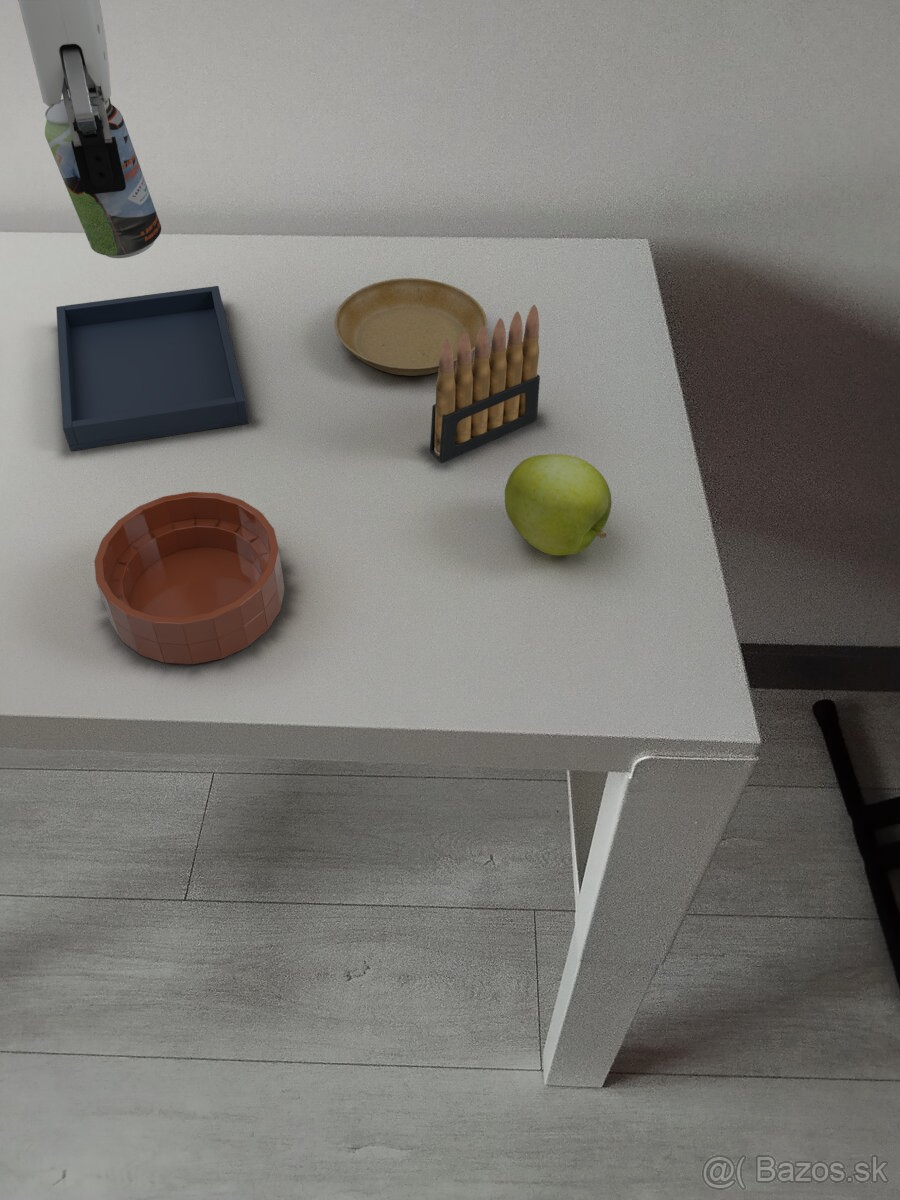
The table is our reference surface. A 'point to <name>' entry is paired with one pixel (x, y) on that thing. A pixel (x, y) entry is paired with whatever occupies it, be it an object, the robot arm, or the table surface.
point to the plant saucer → (407, 324)
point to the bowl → (190, 577)
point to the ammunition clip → (486, 388)
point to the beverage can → (109, 217)
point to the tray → (147, 368)
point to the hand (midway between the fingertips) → (102, 167)
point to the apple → (558, 503)
